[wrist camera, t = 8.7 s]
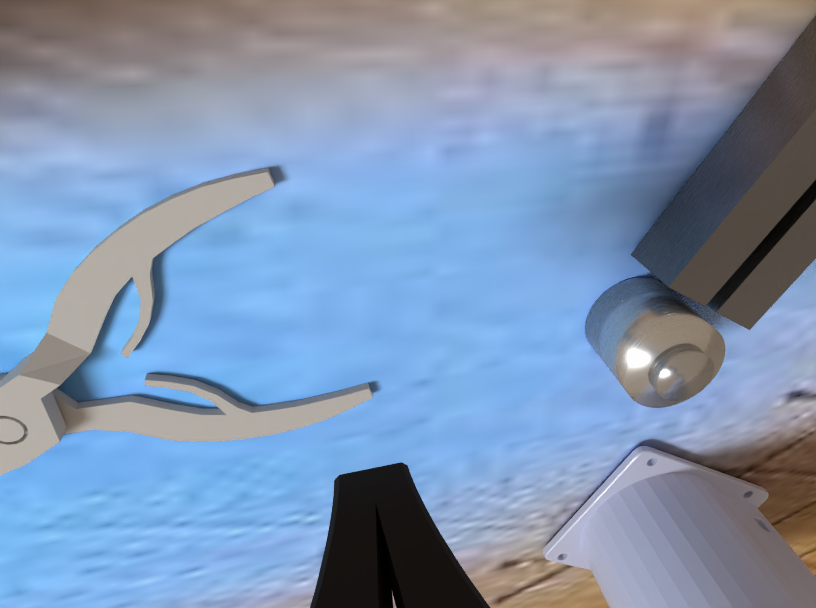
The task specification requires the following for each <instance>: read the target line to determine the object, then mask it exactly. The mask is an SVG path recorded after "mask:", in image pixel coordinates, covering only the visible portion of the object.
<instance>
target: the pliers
mask: <svg viewBox="0 0 816 608" xmlns="http://www.w3.org/2000/svg"><path fill="white" fill-rule="evenodd" d="M273 187H275V181H274V179H273V177H272V175H271V173H270V171H269V169H268V168H265V169H259V170H254V171H249V172H244V173H239V174H234V175H230V176H226V177H223V178H219V179H215V180H211V181H207V182H203V183H201V184H198V185H196V186H193V187H191V188H189V189H186V190H184V191H181V192H179V193H176V194H174V195H171V196H170V197H168V198H166V199H164V200H162V201H160V202H158V203H156V204H154V205H152V206H150V207H148V208H146V209H145V210H143V211H142V212H140V213H139V214H137V215H136V216H134V217H133V218H131V219H130V220H129V221H127V222H126V223H124V224H123V225H121V226H120V227H119V228H117V229H116V230H115V231H114V232H113V233H111V234H110V235H109V236H108V237H107V238H105V239H104V240H103V241H102V242H101V243H100V244H98V245H97V246H96V247H95V248H94V249H93V250H92V251H91V252H90V253H89V255H88V256H87V257H86V258H85V259H84V260H83V261H82V262H81V263H80V264H79V265H78V266H77V267H76V269H75V270H74V272H73V273H72V275H71V276H70V278H69V279H68V281H67V282H66V284H65V286H64V287H63V289H62V290H61V292H60V293H59V295H58V296H57V298H56V301H55V305H54V308H53V312H52V315H51V319H50V322H49V326H48V330H47V333H46V334H45V336H44V337H43V339H42V340H41V342H40V343H39V345H38V346H37V348H36V349H35V351H34V352H32V353H31V354H30V355H28V356H27V357H25V358H24V359H23V360H22V361H21V362H20V363H19V364H18V365H17V366H16V367H14V368H13V369H12V370H11V371H10V372H9V373H6V374H0V475H2V474H4V473H7V472H9V471H12V470H14V469H16V468H19V467H21V466H24V465H26V464H27V463H29V462H30V461H32V460H33V459H35V458H36V457H38V456H39V455H41V454H42V453H44V452H45V451H47V450H48V449H50V448H51V447H53V446H54V445H56V444H57V443H59V442H60V440H61V438H62V436H63V434H69V433H76V432H82V431H88V430H107V431H124V432H133V433H138V434H142V435H147V436H152V437H156V438H161V439H166V440H175V441H192V442H208V441H229V440H238V439H247V438H255V437H261V436H267V435H273V434H278V433H282V432H286V431H290V430H294V429H298V428H302V427H305V426H308V425H311V424H314V423H317V422H320V421H323V420H326V419H329V418H331V417H333V416H335V415H338V414H340V413H342V412H344V411H347V410H349V409H351V408H353V407H355V406H357V405H359V404H361V403H363V402H365V401H367V400H369V399H371V398H373V395H372V391H371V388H370V386H369V384H368V383H364V384H361V385H357V386H354V387H350V388H347V389H343V390H339V391H335V392H331V393H327V394H323V395H319V396H314V397H310V398H306V399H301V400H296V401H290V402H284V403H277V404H269V405H262V406H254V407H252V406H250V405H247V404H244V403H241V402H239V401H237V400H235V399H234V398H232V397H230V396H229V395H227V394H226V393H224V392H222V391H221V390H219V389H218V388H215V387H212V386H210V385H207V384H205V383H202V382H199V381H197V380H194V379H188V378H182V377H177V376H171V375H159V374H147V375H146V378H145V386H153V387H164V388H171V389H176V390H181V391H187V392H191V393H193V394H196V395H198V396H200V397H203V398H205V399H207V400H210V401H211V402H213V403H214V404H215V405H216V406H217V407H218V408H219V409H202V408H197V407H191V406H185V405H179V404H173V403H168V402H163V401H159V400H154V399H149V398H144V397H139V396H135V395H128V396H121V397H114V398H107V399H99V400H92V401H85V402H77V401H75V400H74V399H72V398H71V397H69V396H68V395H66V394H65V393H63V392H62V391H60V390H59V389H57V387H58V386H60V385H61V384H62V383H63V382H64V381H65V380H66V379H67V378H68V377H69V376H70V375H71V374H72V373H73V371H74V370H75V369H76V368H77V367H78V366H79V365H80V364H81V363H82V362H83V361H84V360H85V359H86V358H87V357H88V356H89V355H90V354H91V352H92V350H93V348H94V346H95V343H96V341H97V338H98V335H99V333H100V330H101V328H102V325H103V323H104V320H105V318H106V315H107V313H108V310H109V308H110V306H111V304H112V302H113V300H114V298H115V296H116V294H117V293H118V292H119V291H120V290H121V288H122V287H123V286H124V285H125V284H126V283H127V282H128V280H129V279H130V278H131V277H133V280H134V283H135V285H136V288H137V291H138V293H139V296H140V299H141V308H140V320H139V323H138V325H137V327H136V329H135V331H134V333H133V334H132V336H131V337H130V339H129V340H128V342H127V343H126V345H125V346H124V347H123V350H122V352H121V354H122V355H124V356H126V357H127V358H128V357H129V355H130V354H131V353H132V351H133V350H134V349H135V347H136V346H137V345H138V343H139V342H140V340H141V338H142V336H143V334H144V333H145V331H146V329H147V327H148V325H149V323H150V320H151V318H152V312H153V306H154V299H155V288H154V280H153V272H152V267H153V261H154V257H155V256H157V255H158V254H159V253H161V252H162V251H163V250H165V249H166V248H167V247H169V246H170V245H171V244H173V243H174V242H175V241H177V240H178V239H180V238H181V237H183V236H184V235H185V234H187V233H188V232H190V231H191V230H193V229H194V228H196V227H198V226H199V225H201V224H203V223H205V222H206V221H208V220H210V219H212V218H214V217H215V216H217V215H219V214H221V213H223V212H225V211H227V210H228V209H230V208H232V207H234V206H236V205H238V204H240V203H241V202H243V201H245V200H247V199H249V198H251V197H254V196H256V195H258V194H260V193H262V192H264V191H266V190H269V189H271V188H273Z"/></svg>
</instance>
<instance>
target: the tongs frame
mask: <svg viewBox="0 0 816 608" xmlns="http://www.w3.org/2000/svg"><path fill="white" fill-rule="evenodd" d="M815 258H816V180H815V181H814V182H813V183H812V184H811V185H810V187H809V188H808V189H807V190H806V191H805V192H804V193H803V195H802V196H801V197H800V198H799V199H798V200H797V201H796V203H795V204H794V205H793V206H792V207H791V208H790V210H789V211H788V212H787V213H786V214H785V215H784V216H783V218H782V219H781V220H780V221H779V222H778V223H777V224H776V226H775V227H774V228H773V229H772V230H771V231H770V232H769V234H768V235H767V236H766V237H765V238H764V239H763V240H762V242H761V243H760V244H759V245H758V246H757V247H756V248H755V250H754V251H753V252H752V253H751V254H750V255H749V257H748V258H747V259H746V260H745V261H744V262H743V263H742V265H741V266H740V267H739V268H738V269H737V270H736V271H735V273H734V274H733V275H732V276H731V277H730V278H729V279H728V281H727V282H726V283H725V284H724V285H723V286H722V287H721V289H720V290H719V291H718V292H717V293H716V294H715V295H714V297H713V298H712V299H711V300H710V301H709V302H708V304H707V305H708V306H709V307H710V308H712V309H713V310H714V311H715V312H716V313H718V314H720V315H722V316H724V317H726V318H728V319H730V320H732V321H734V322H736V323H737V324H739V325H741V326H743V327H745V328H747V329H749V330H750V329H751V328H752V327H753V326H754V325H755V324H756V322H757V321H758V320H759V319H760V318H761V317H762V316H763V315H764V314H765V313H766V312H767V310H768V309H769V308H770V307H771V306H772V305H773V304H774V303H775V302H776V301H777V300H778V299H779V297H780V296H781V295H782V294H783V293H784V292H785V291H786V290H787V289H788V288H789V287H790V286H791V284H792V283H793V282H794V281H795V280H796V279H797V278H798V277H799V276H800V275H801V274H802V273H803V271H804V270H805V269H806V268H807V267H808V266H809V265H810V264H811V263H812V262H813V261H814V260H815ZM585 334H586V338H587V340H588V342H589V344H590V345H591V346H592V348H593V349H594V350H595V352H596V353H597V354H598V355H599V357H600V358H601V359H602V361H603V362H604V363H605V364H606V366H607V367H608V368H609V370H610V371H611V372H612V373H613V375H614V376H615V377H616V379H617V380H618V381H619V382H620V384H621V385H622V386H623V388H624V389H625V390H626V391H627V393H628V394H629V395H630V397H631V398H632V399H633V400H634V401H636V402H637V403H639V404H641V405H643V406H646V407H652V408H661V407H668V406H672V405H676V404H678V403H681V402H683V401H685V400H687V399H689V398H691V397H693V396H694V395H696V394H698V393H699V392H700V391H702V390H703V389H704V388H705V387H706V386H707V385H708V384H709V383H710V382H711V381H712V379H713V378H714V377H715V376H716V374H717V373H718V371H719V369H720V367H721V365H722V363H723V360H724V356H725V343H724V340H723V337H722V336H721V334H720V333H719V332H718V331H717V330H716V329H715V328H714V327H713V326H711V325H710V324H709V323H708V322H707V321H706V320H704V319H703V318H702V317H701V316H700V315H699V314H698V313H696V312H695V311H694V310H693V309H692V308H691V307H690V306H688V305H687V304H686V303H685V302H684V301H683V300H682V299H680V298H679V297H678V296H677V295H676V294H675V293H673V292H672V291H671V290H670V289H669V288H668V287H667V286H665V285H664V284H663V283H662V282H660V281H658V280H656V279H653V278H648V277H637V278H632V279H628V280H625V281H622V282H620V283H618V284H616V285H614V286H613V287H611V288H610V289H608V290H607V291H606V292H604V293H603V294H602V295H601V296H600V297H599V298H598V299H597V301H596V302H595V303H594V305H593V306H592V308H591V309H590V311H589V313H588V316H587V319H586V324H585Z"/></svg>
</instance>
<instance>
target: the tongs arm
mask: <svg viewBox="0 0 816 608" xmlns="http://www.w3.org/2000/svg"><path fill="white" fill-rule="evenodd" d="M815 180H816V17H815V18H814V19H813V21H812V22H811V23H810V24H809V26H808V27H807V28H806V30H805V31H804V32H803V34H802V35H801V36H800V37H799V39H798V40H797V41H796V43H795V44H794V45H793V46H792V48H791V49H790V50H789V52H788V53H787V54H786V55H785V57H784V58H783V59H782V61H781V62H780V63H779V64H778V66H777V67H776V68H775V70H774V71H773V72H772V73H771V75H770V76H769V77H768V79H767V80H766V81H765V82H764V84H763V85H762V86H761V88H760V89H759V90H758V91H757V93H756V94H755V95H754V97H753V98H752V99H751V100H750V102H749V103H748V104H747V106H746V107H745V108H744V109H743V111H742V112H741V113H740V115H739V116H738V117H737V119H736V120H735V121H734V122H733V124H732V125H731V126H730V128H729V129H728V130H727V131H726V133H725V134H724V135H723V137H722V138H721V139H720V140H719V142H718V143H717V144H716V146H715V147H714V148H713V149H712V151H711V152H710V153H709V155H708V156H707V157H706V158H705V160H704V161H703V162H702V164H701V165H700V166H699V167H698V169H697V170H696V171H695V173H694V174H693V175H692V176H691V178H690V179H689V180H688V182H687V183H686V184H685V185H684V187H683V188H682V189H681V191H680V192H679V193H678V195H677V196H676V197H675V198H674V200H673V201H672V202H671V204H670V205H669V206H668V207H667V209H666V210H665V211H664V213H663V214H662V215H661V216H660V218H659V219H658V220H657V222H656V223H655V224H654V225H653V227H652V228H651V229H650V231H649V232H648V233H647V234H646V236H645V237H644V238H643V240H642V241H641V242H640V243H639V245H638V246H637V247H636V249H635V250H634V251H633V252H632V254H631V255H632V256H633V257H634V258H635V259H637V260H638V261H639V262H640V263H641V264H642V265H643V266H645V267H646V268H647V269H648V270H649V271H650V272H651V273H653V274H654V275H655V276H656V277H657V278H658V279H660V280H661V281H662V282H663V283H664V284H665V285H666V286H668V287H669V288H671V289H673V290H675V291H677V292H678V293H680V294H682V295H684V296H686V297H688V298H690V299H692V300H694V301H695V302H697V303H699V304H701V305H703V306H706V305H707V304H708V302H709V301H710V300H711V299H712V298H713V297H714V295H715V294H716V293H717V292H718V291H719V290H720V289H721V287H722V286H723V285H724V284H725V283H726V282H727V281H728V279H729V278H730V277H731V276H732V275H733V274H734V273H735V271H736V270H737V269H738V268H739V267H740V266H741V265H742V263H743V262H744V261H745V260H746V259H747V258H748V257H749V255H750V254H751V253H752V252H753V251H754V250H755V248H756V247H757V246H758V245H759V244H760V243H761V242H762V240H763V239H764V238H765V237H766V236H767V235H768V234H769V232H770V231H771V230H772V229H773V228H774V227H775V226H776V224H777V223H778V222H779V221H780V220H781V219H782V218H783V216H784V215H785V214H786V213H787V212H788V211H789V210H790V208H791V207H792V206H793V205H794V204H795V203H796V201H797V200H798V199H799V198H800V197H801V196H802V195H803V193H804V192H805V191H806V190H807V189H808V188H809V187H810V185H811V184H812V183H813V182H814V181H815Z"/></svg>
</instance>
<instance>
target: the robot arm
mask: <svg viewBox="0 0 816 608" xmlns="http://www.w3.org/2000/svg"><path fill="white" fill-rule="evenodd" d="M768 496H769V494H768V492H767V491H766V490H765V489H764V488H763V487H761V486H758V485H755V484H752V483H750V482H747V481H744V480H741V479H738V478H735V477H733V476H730V475H727V474H724V473H721V472H719V471H716V470H713V469H710V468H707V467H705V466H702V465H699V464H696V463H693V462H691V461H688V460H685V459H682V458H679V457H676V456H674V455H671V454H668V453H665V452H662V451H660V450H657V449H654V448H651V447H648V446H640V447H638V448H636V449H635V450H633V451H632V453H631V454H630V455H629V456H628V457H627V458H626V459H625V460H624V461H623V462H622V463H621V465H620V466H619V467H618V468H617V469H616V470H615V471H614V472H613V473H612V474H611V475H610V477H609V478H608V479H607V480H606V481H605V482H604V483H603V484H602V485H601V486H600V487H599V489H598V490H597V491H596V492H595V493H594V494H593V495H592V496H591V497H590V498H589V499H588V501H587V502H586V503H585V504H584V505H583V506H582V507H581V508H580V509H579V510H578V511H577V513H576V514H575V515H574V516H573V517H572V518H571V519H570V520H569V521H568V522H567V523H566V524H565V526H564V527H563V528H562V529H561V530H560V531H559V532H558V533H557V534H556V535H555V536H554V538H553V539H552V540H551V541H550V542H549V543H548V544H547V545H546V546H545V548H544V549H543V553H544V556H545V558H546V559H547V560H549V561H553V562H558V563H562V564H567V565H571V566H576V567H580V568H585V569H589V570H591V571H592V573H593V575H594V577H595V579H596V581H597V583H598V585H599V587H600V589H601V591H602V593H603V595H604V597H605V599H606V601H607V603H608V606H609V608H816V576H815V575H814V574H813V573H812V572H811V570H810V569H809V568H808V567H807V566H806V565H805V563H804V562H803V561H802V560H801V559H800V557H799V556H798V555H797V554H796V553H795V552H794V550H793V549H792V548H791V547H790V546H789V545H788V543H787V542H786V541H785V540H784V539H783V538H782V536H781V535H780V534H779V533H778V532H777V530H776V529H775V528H774V527H773V526H772V525H771V523H770V522H769V521H768V520H767V519H766V518H765V516H764V515H763V514H762V513H761V512H760V511H759V509H758V507H759V506H761V505H762V504H763V503H764V502H765V501H766V500H767V499H768ZM392 592H393V596H394V600H395V604H396V608H490V607H489V605H488V604H487V603H486V601H485V600H484V599H483V597H482V596H481V594H480V593H479V591H478V590H477V589H476V587H475V586H474V584H473V583H472V582H471V580H470V579H469V577H468V576H467V574H466V573H465V571H464V570H463V568H462V567H461V566H460V564H459V563H458V561H457V559H456V558H455V556H454V555H453V553H452V551H451V550H450V548H449V547H448V545H447V543H446V542H445V540H444V539H443V537H442V535H441V534H440V532H439V530H438V529H437V527H436V525H435V524H434V522H433V520H432V518H431V516H430V514H429V513H428V511H427V509H426V507H425V505H424V503H423V501H422V499H421V497H420V495H419V493H418V491H417V489H416V487H415V484H414V482H413V479H412V477H411V474H410V472H409V468H408V466H407V465H405V464H404V463H402V462H401V463H396V464H392V465H387V466H382V467H377V468H372V469H367V470H362V471H357V472H352V473H347V474H342V475H339V476H338V477H337V478H336V479H335V480H334V497H333V507H332V514H331V520H330V526H329V531H328V537H327V542H326V547H325V551H324V555H323V560H322V564H321V568H320V573H319V577H318V581H317V585H316V589H315V593H314V596H313V600H312V603H311V606H310V608H393V599H392Z"/></svg>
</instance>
